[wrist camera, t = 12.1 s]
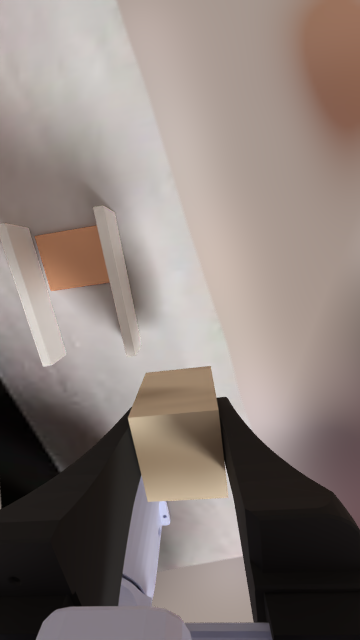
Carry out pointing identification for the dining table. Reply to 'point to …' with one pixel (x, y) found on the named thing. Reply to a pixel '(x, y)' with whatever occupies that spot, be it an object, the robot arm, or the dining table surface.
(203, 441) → the block
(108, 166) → the dining table surface
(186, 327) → the dining table surface
